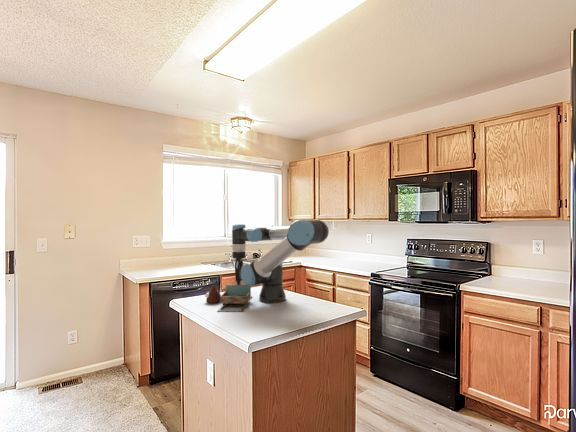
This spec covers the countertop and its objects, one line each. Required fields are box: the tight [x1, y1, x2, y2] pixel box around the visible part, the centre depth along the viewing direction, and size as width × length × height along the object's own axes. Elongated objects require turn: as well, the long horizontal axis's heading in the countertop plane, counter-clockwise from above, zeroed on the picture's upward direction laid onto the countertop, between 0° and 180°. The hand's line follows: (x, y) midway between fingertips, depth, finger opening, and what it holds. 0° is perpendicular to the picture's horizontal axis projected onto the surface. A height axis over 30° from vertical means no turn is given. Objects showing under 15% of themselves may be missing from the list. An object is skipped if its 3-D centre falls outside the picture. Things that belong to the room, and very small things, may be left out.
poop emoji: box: [205, 285, 222, 305], centre depth 185 cm, size 10×8×9 cm
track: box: [217, 296, 253, 313], centre depth 180 cm, size 13×32×1 cm, turn 178°
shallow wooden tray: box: [219, 284, 252, 307], centre depth 179 cm, size 14×14×9 cm
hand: (239, 292), depth 188 cm, fingers closed
